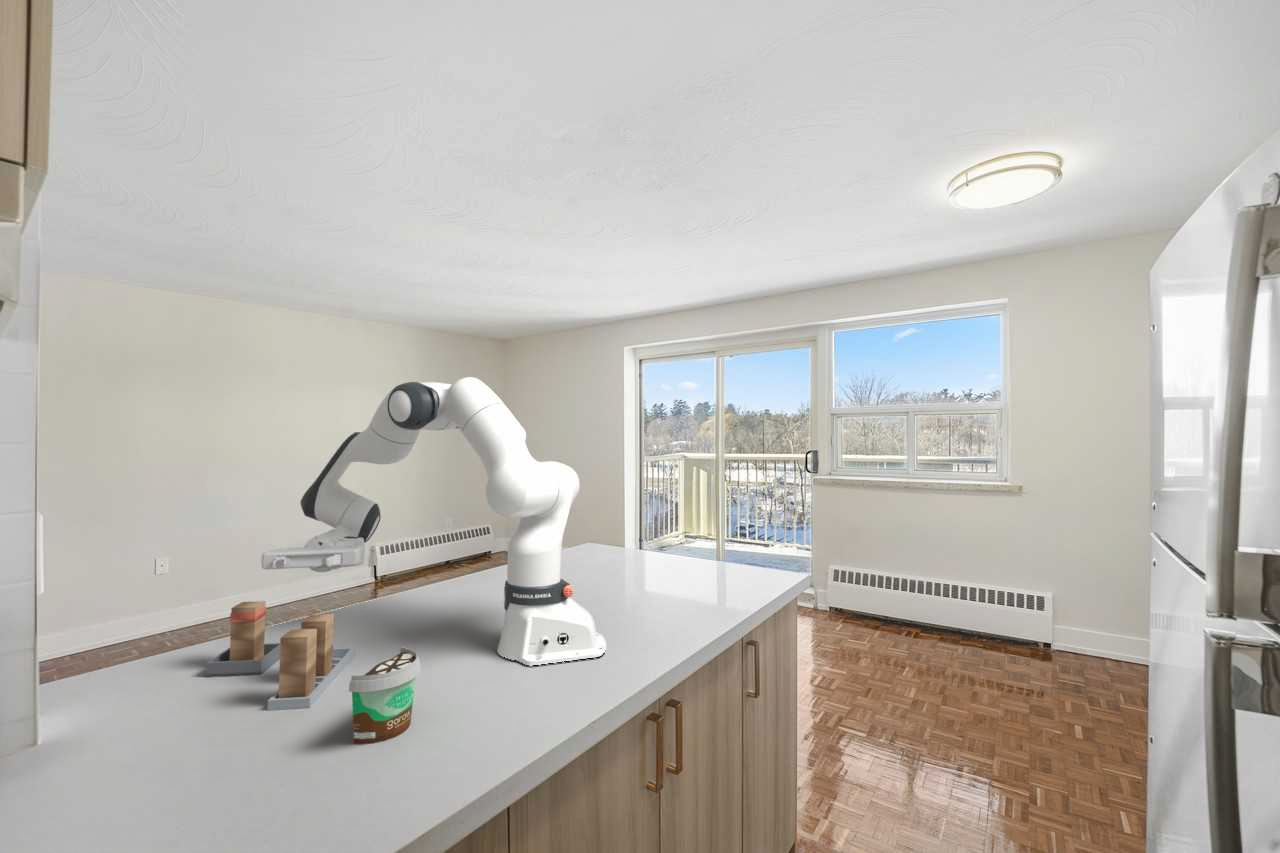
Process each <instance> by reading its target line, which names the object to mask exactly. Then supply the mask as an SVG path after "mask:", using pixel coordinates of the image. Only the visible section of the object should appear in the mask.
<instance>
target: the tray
mask: <svg viewBox="0 0 1280 853" xmlns="http://www.w3.org/2000/svg"><path fill="white" fill-rule="evenodd" d="M278 661H280V642H278V643H277V642H276V643H275V642H273V643H270V642H269V643H264V657H263V658H262V659H260V660H244V661H230V647H228V648H226V649H225V650H223V652H221V653H219V654H218V655H217V656H214V657H213V658H212V659H210V660H209V661H207V662H206V665H205V678H210V677H209V676H221V677H238V676H239V675H242V676H257V675H259V676H260V675H263V674H264V673H265V672H266V671H267V670H268V669H270V668H271V667H272V666H273V665H274V664H276V662H278ZM234 675H235V676H234ZM239 677H240V676H239Z"/></svg>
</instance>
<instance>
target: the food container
mask: <svg viewBox="0 0 1280 853" xmlns="http://www.w3.org/2000/svg"><path fill="white" fill-rule="evenodd" d="M420 662H421V660H420V658H419V656H418V653H417V652H416V651H415V650H413V649H411V648H409V647H408V648H407V647H403V646H400V649H399V653H398V654H396V655H395V656H393V657H392V658H390V659H388V660H384V661H382V662H380V663H378V664H376V665H374V666H373V667H372V668H371V669H370V670H369V671H367V672H366V673H365V674H363V675H356V674H355V675H353V674H352V675H351V680H350V681H349V684H348V686H349V687H348V692H349V693H350V692H351V700H352V702H351V704H352V706H351V707H352V723H353V726H352V727H353V730H352V731H353V744H357V745H367V744H377V743H383V742H386V741H390V740H391V739H394V738H397V737H399V736H400V735H402V734H404V733H405V732H406V731H407V730H408V729H409V728H410V726H411V724H412V723H411V722H412V721H411V720H412V713H413V703H414V695H415V684H416V677H417V676H418V675H419V674H420V672H421V670H422V668H421V663H420Z"/></svg>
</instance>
